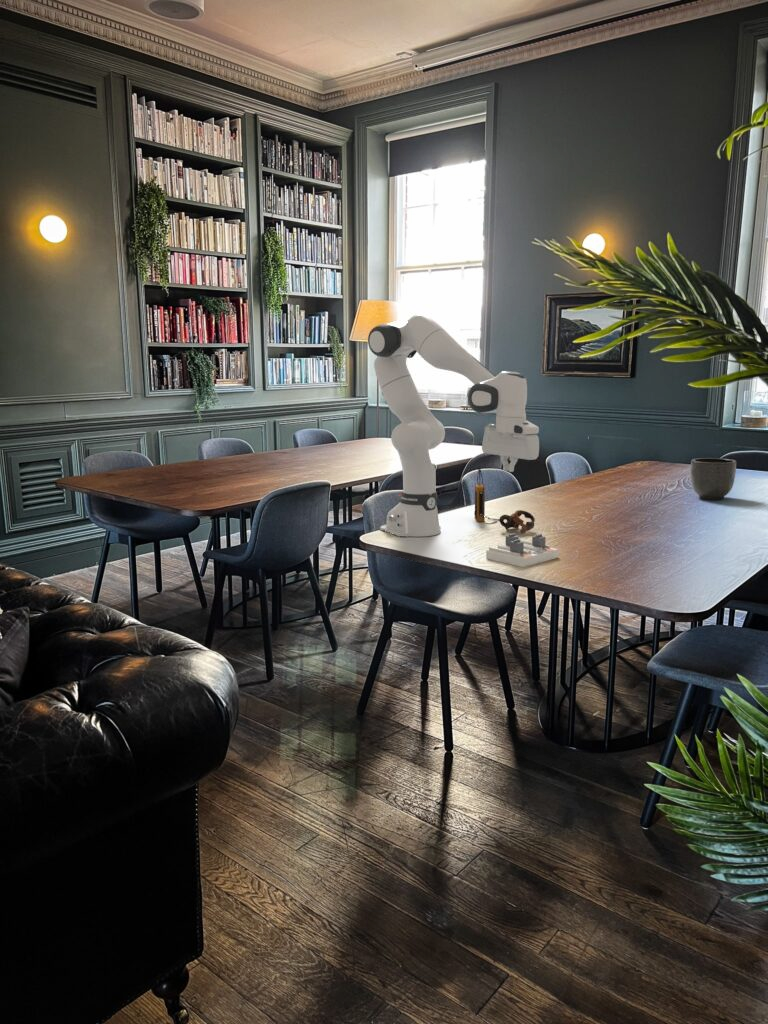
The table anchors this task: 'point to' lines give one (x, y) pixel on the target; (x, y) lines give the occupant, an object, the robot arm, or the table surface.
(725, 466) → the planter
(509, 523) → the brown curved ring piece
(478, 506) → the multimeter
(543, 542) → the tab
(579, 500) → the table surface
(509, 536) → the tab middle
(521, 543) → the tab
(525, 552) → the switch board
